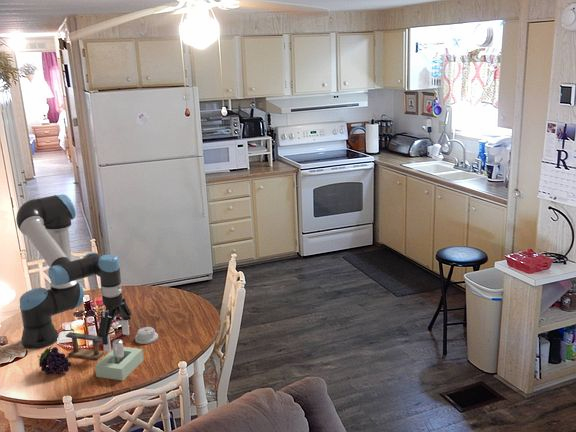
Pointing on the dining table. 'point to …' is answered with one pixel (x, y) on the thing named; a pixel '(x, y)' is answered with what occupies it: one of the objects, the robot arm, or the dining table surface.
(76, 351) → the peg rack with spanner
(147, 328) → the mechanical component
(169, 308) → the dining table surface
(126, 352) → the slot block
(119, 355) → the grey upright peg
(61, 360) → the fruit
